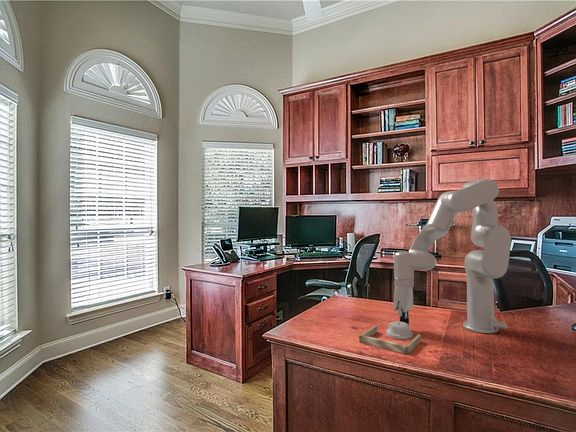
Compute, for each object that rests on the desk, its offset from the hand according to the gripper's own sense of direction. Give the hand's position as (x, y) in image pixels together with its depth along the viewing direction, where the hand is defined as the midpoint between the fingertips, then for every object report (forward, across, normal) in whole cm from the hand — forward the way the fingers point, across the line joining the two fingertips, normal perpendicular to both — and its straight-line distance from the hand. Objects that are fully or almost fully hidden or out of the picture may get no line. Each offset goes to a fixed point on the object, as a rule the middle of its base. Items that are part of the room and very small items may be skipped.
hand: (404, 327), depth 138 cm
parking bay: (+1, +15, 0) cm, 15 cm away
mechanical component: (+2, +6, 0) cm, 6 cm away
